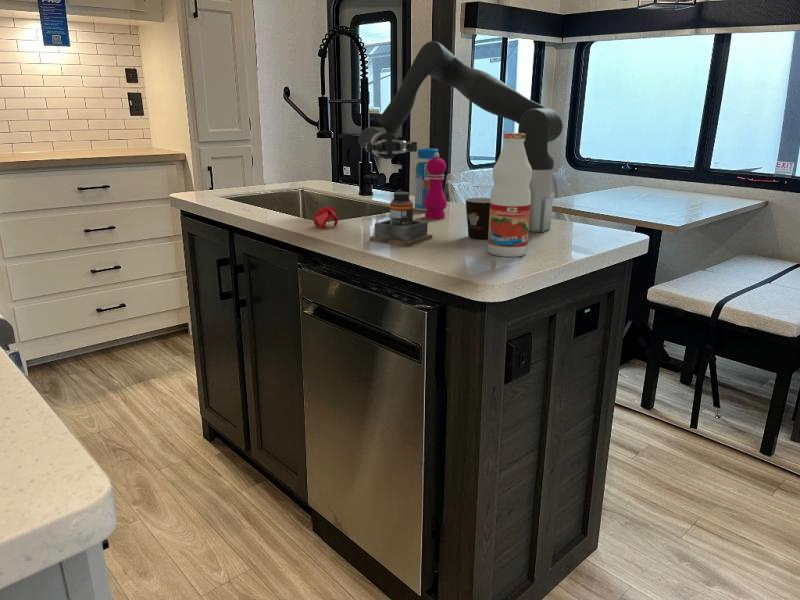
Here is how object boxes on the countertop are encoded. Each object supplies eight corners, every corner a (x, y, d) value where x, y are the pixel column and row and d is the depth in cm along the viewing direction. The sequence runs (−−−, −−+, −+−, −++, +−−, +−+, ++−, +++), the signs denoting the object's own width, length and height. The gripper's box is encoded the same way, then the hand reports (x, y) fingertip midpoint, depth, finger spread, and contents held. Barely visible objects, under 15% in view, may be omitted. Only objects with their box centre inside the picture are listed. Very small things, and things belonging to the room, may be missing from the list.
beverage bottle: (409, 209, 208) (410, 148, 201) (422, 206, 214) (424, 147, 208) (430, 212, 203) (432, 150, 197) (443, 209, 210) (445, 148, 203)
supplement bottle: (401, 232, 166) (402, 190, 162) (417, 236, 162) (418, 192, 158) (385, 235, 162) (385, 192, 158) (401, 239, 158) (401, 194, 154)
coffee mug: (458, 235, 168) (459, 198, 165) (485, 233, 171) (487, 197, 168) (480, 244, 158) (482, 205, 155) (508, 241, 161) (511, 203, 158)
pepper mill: (446, 219, 190) (449, 153, 184) (423, 219, 190) (425, 153, 184) (445, 215, 197) (447, 151, 191) (423, 215, 197) (424, 151, 191)
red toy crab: (345, 216, 176) (334, 203, 179) (333, 211, 171) (321, 198, 174) (329, 237, 179) (318, 224, 182) (316, 233, 174) (305, 220, 176)
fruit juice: (526, 249, 152) (535, 132, 144) (527, 258, 144) (536, 134, 135) (488, 247, 154) (494, 132, 145) (486, 256, 145) (493, 133, 136)
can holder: (432, 238, 164) (432, 221, 162) (408, 246, 154) (409, 229, 153) (394, 233, 170) (394, 217, 168) (369, 240, 160) (369, 223, 159)
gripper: (360, 132, 181) (370, 134, 166) (407, 131, 184) (421, 133, 169) (361, 158, 183) (371, 162, 168) (407, 157, 186) (421, 161, 171)
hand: (396, 148), depth 168 cm, fingers open, 8 cm apart
